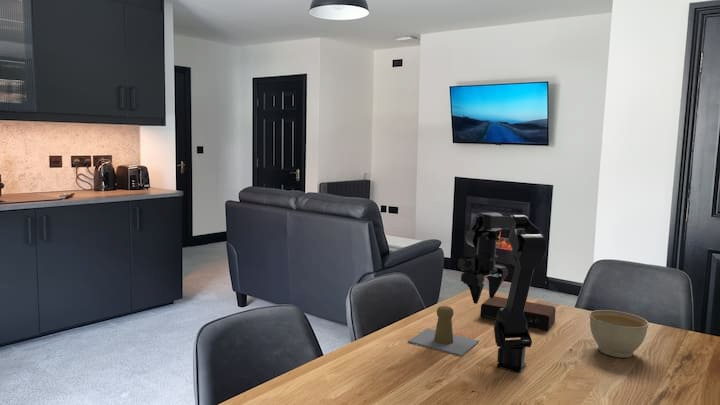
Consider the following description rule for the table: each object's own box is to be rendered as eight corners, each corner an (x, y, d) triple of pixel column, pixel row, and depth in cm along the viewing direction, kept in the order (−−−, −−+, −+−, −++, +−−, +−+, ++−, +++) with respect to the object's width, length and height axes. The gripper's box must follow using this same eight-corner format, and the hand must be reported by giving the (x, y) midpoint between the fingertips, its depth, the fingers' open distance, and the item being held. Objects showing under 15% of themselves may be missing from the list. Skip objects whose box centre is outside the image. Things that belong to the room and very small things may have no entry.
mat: (479, 342, 166) (479, 340, 166) (462, 356, 155) (462, 354, 155) (427, 329, 176) (427, 328, 176) (407, 342, 164) (407, 340, 164)
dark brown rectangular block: (480, 319, 190) (481, 303, 189) (489, 310, 200) (490, 295, 199) (548, 332, 178) (549, 315, 177) (554, 322, 188) (555, 306, 187)
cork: (446, 346, 161) (448, 311, 160) (430, 340, 165) (431, 306, 164) (457, 341, 165) (458, 307, 164) (440, 336, 169) (442, 302, 168)
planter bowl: (653, 365, 152) (656, 329, 151) (593, 359, 155) (596, 324, 154) (635, 345, 168) (638, 312, 167) (582, 340, 171) (584, 307, 170)
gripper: (480, 244, 177) (477, 289, 179) (447, 251, 164) (445, 300, 166) (510, 250, 169) (507, 297, 171) (478, 258, 156) (475, 309, 158)
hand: (483, 300), depth 167 cm, fingers open, 9 cm apart
